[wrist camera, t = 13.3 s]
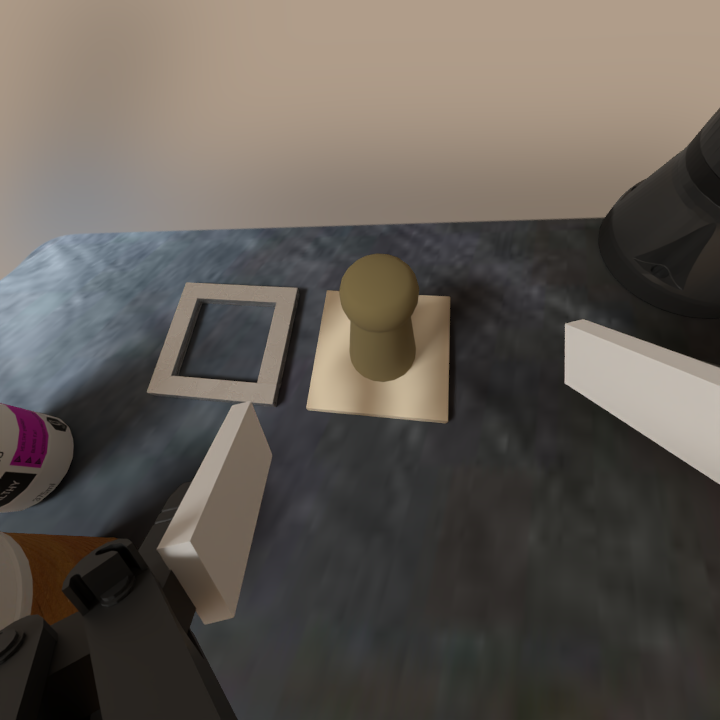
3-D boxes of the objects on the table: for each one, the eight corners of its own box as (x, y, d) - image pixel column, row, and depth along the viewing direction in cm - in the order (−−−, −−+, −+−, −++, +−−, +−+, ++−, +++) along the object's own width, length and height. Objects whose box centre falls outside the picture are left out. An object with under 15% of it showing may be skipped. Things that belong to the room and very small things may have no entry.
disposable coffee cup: (152, 651, 24) (-46, 776, 13) (25, 667, 25) (-271, 803, 14) (165, 507, 28) (18, 513, 17) (54, 523, 28) (-161, 538, 17)
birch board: (449, 301, 33) (450, 296, 32) (446, 423, 29) (447, 421, 28) (328, 295, 35) (327, 290, 34) (308, 410, 30) (306, 407, 29)
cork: (430, 354, 30) (449, 281, 20) (376, 395, 29) (369, 340, 19) (387, 309, 32) (385, 223, 22) (336, 346, 31) (310, 272, 21)
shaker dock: (299, 293, 35) (297, 287, 34) (275, 407, 31) (272, 404, 30) (191, 288, 36) (186, 282, 36) (153, 395, 32) (146, 392, 31)
